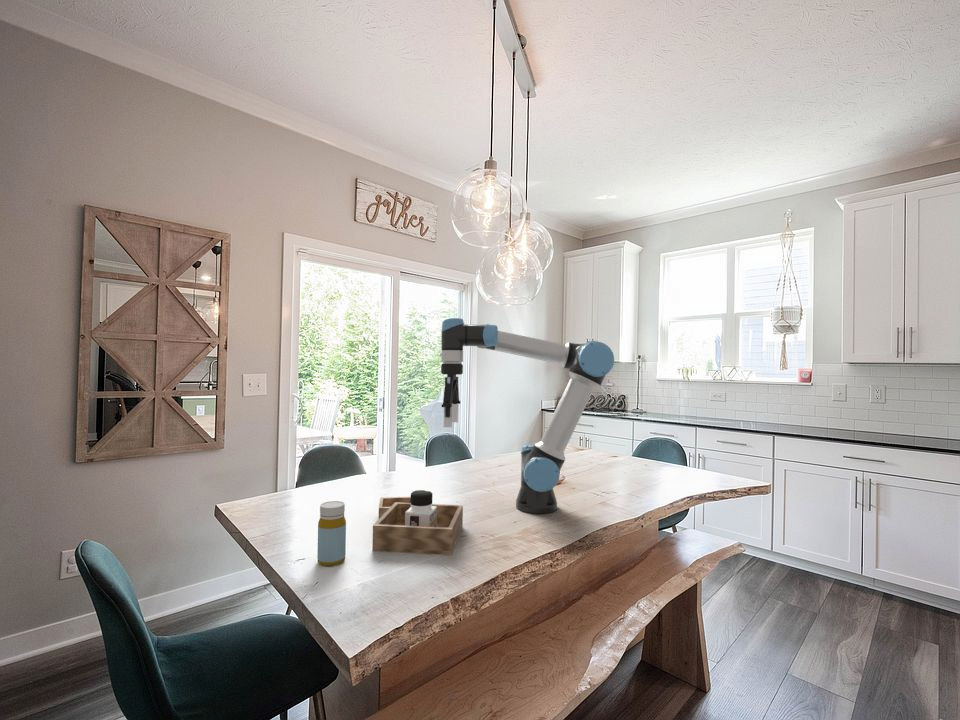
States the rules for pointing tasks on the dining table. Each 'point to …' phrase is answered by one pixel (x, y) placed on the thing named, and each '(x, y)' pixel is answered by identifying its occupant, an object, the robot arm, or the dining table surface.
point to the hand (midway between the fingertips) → (451, 424)
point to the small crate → (388, 502)
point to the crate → (418, 531)
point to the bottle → (331, 534)
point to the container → (421, 510)
